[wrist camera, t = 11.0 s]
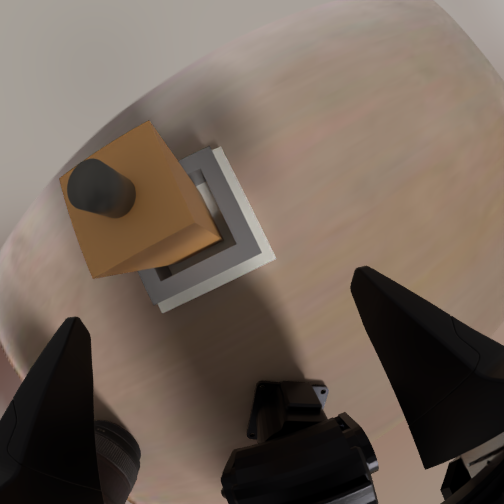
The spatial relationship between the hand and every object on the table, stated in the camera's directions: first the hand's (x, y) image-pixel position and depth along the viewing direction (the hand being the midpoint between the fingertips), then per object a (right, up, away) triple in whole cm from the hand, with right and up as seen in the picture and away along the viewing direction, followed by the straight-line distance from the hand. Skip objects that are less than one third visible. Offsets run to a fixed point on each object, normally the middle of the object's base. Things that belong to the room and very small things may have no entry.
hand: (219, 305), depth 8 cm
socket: (-4, +3, +14) cm, 15 cm away
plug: (-4, +3, +13) cm, 14 cm away
